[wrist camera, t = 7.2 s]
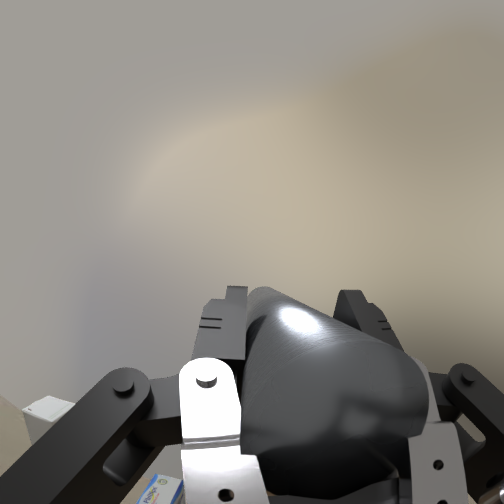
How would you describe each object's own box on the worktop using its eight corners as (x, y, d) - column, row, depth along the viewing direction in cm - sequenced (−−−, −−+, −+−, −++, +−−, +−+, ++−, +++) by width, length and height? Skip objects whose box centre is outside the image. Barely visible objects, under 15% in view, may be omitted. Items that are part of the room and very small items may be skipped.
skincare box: (74, 497, 25) (51, 423, 26) (43, 483, 25) (19, 409, 26) (93, 472, 33) (77, 403, 34) (63, 462, 33) (47, 392, 34)
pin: (281, 323, 27) (283, 287, 27) (403, 486, 4) (443, 334, 4) (244, 321, 27) (246, 285, 27) (236, 505, 4) (244, 339, 4)
